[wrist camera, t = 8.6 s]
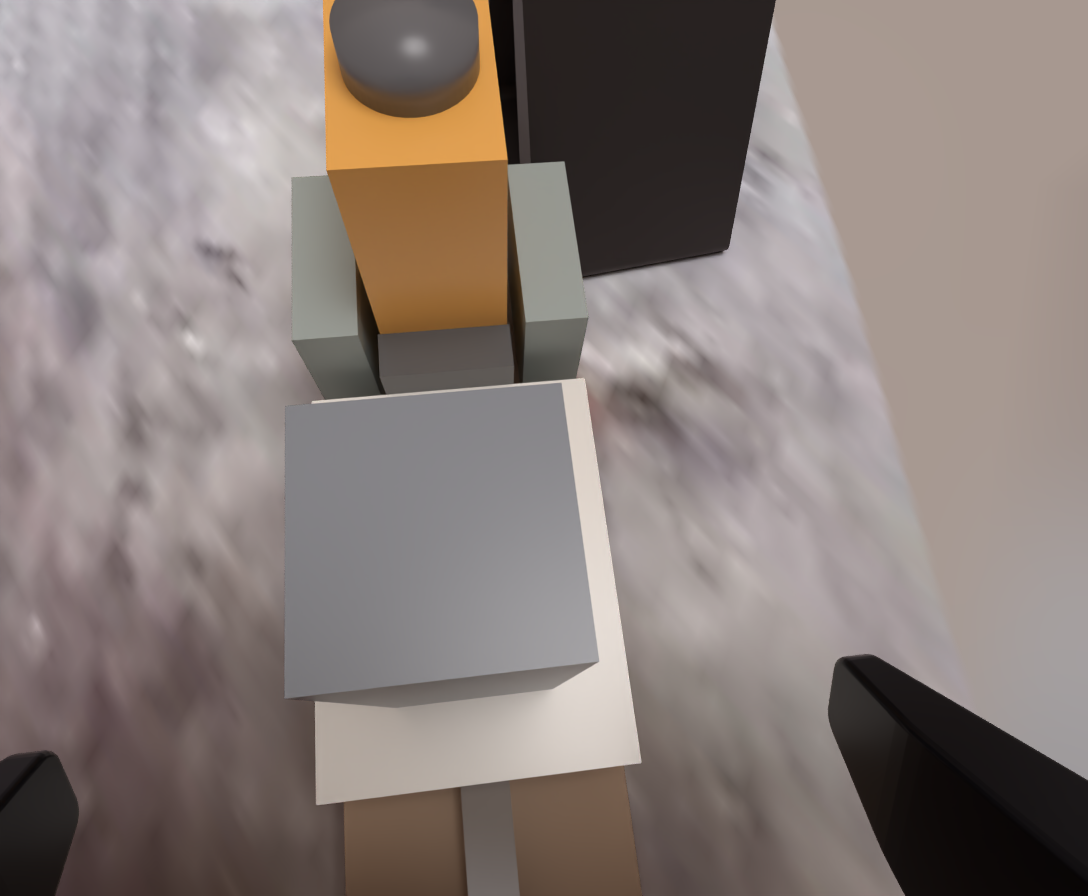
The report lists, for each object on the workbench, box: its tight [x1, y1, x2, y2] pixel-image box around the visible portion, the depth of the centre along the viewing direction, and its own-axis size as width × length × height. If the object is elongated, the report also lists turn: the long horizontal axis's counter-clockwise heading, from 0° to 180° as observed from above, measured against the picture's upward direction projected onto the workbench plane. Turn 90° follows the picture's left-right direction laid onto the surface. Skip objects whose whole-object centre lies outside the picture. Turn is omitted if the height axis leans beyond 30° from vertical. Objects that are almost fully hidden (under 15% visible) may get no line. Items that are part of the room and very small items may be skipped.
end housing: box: [292, 162, 588, 400], centre depth 18 cm, size 4×6×4 cm, turn 96°
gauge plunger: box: [323, 0, 508, 334], centre depth 15 cm, size 4×3×9 cm
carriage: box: [284, 324, 642, 805], centre depth 12 cm, size 9×6×9 cm, turn 6°
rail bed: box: [344, 276, 642, 896], centre depth 17 cm, size 21×6×2 cm, turn 6°
